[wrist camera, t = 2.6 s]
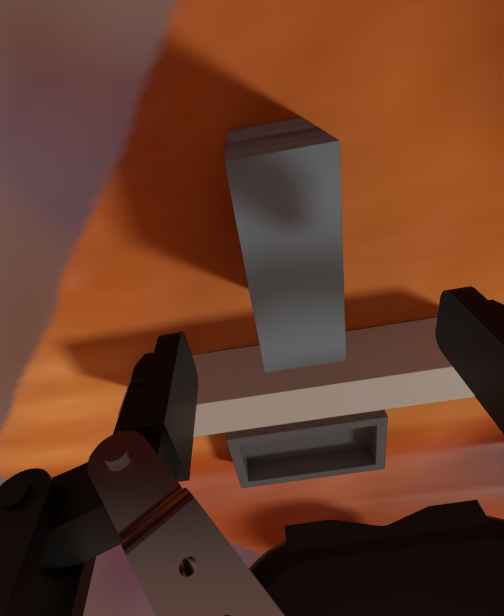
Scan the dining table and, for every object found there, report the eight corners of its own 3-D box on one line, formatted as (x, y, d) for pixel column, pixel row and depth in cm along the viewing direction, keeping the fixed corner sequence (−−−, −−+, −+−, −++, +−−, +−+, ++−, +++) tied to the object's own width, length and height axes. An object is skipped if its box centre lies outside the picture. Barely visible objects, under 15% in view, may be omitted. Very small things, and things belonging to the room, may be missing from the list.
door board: (457, 313, 26) (500, 359, 22) (452, 346, 28) (490, 394, 24) (135, 364, 28) (117, 416, 23) (147, 392, 29) (133, 445, 25)
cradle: (377, 394, 31) (387, 417, 28) (375, 445, 34) (384, 468, 32) (226, 416, 31) (226, 440, 29) (240, 464, 35) (241, 488, 33)
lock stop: (227, 131, 19) (224, 161, 13) (302, 117, 19) (339, 140, 12) (256, 291, 25) (265, 372, 18) (315, 282, 25) (346, 360, 18)
